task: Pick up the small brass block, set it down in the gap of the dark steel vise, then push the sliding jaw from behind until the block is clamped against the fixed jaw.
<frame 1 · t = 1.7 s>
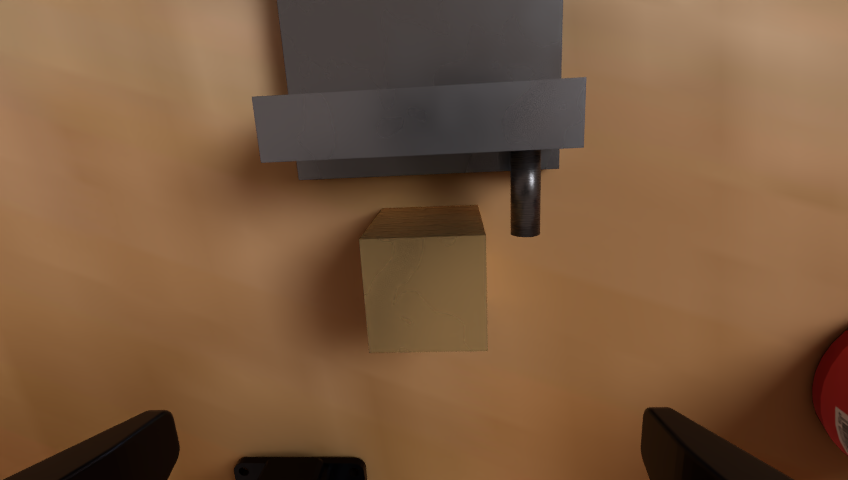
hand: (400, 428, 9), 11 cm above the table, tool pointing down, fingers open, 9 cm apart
jaw: (422, 166, 16), point 3 cm above the table, slide at 0.0 cm
block: (431, 252, 20), on the table
vise base: (419, 10, 17), on the table
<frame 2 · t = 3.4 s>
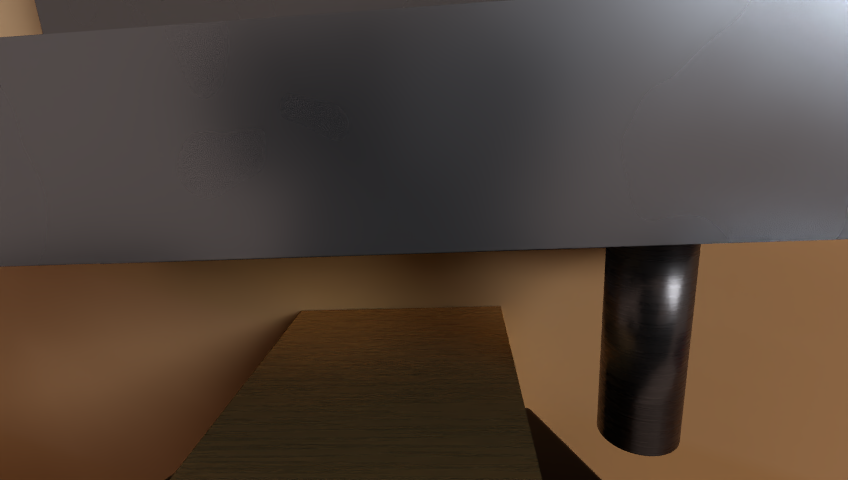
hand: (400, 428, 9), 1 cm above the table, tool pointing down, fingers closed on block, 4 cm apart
jaw: (361, 258, 6), point 3 cm above the table, slide at 0.0 cm
block: (405, 396, 10), on the table, touching gripper
when the fingers open (3 cm above the table, at t = 6.6 s): block drops 1 cm, resting on vise base.
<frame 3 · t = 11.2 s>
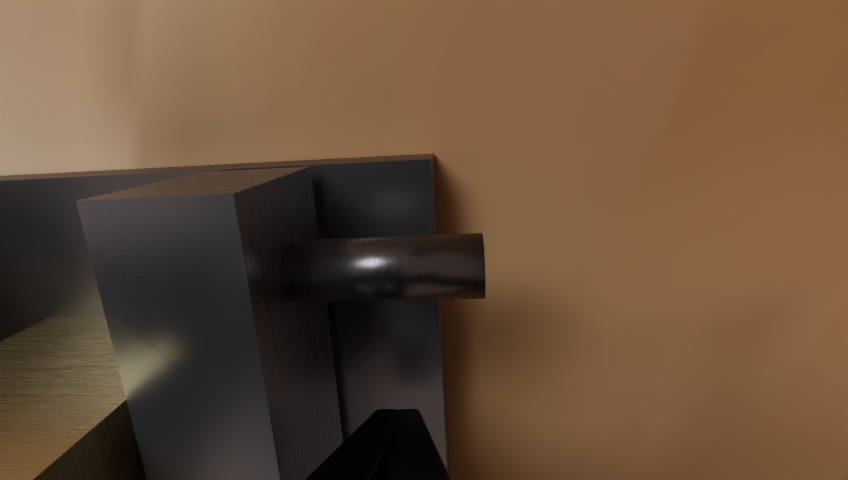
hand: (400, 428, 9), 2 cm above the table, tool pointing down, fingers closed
jaw: (345, 457, 8), point 3 cm above the table, slide at 1.2 cm, touching gripper
block: (153, 399, 10), point 1 cm above the table, touching vise base
vise base: (202, 370, 11), on the table
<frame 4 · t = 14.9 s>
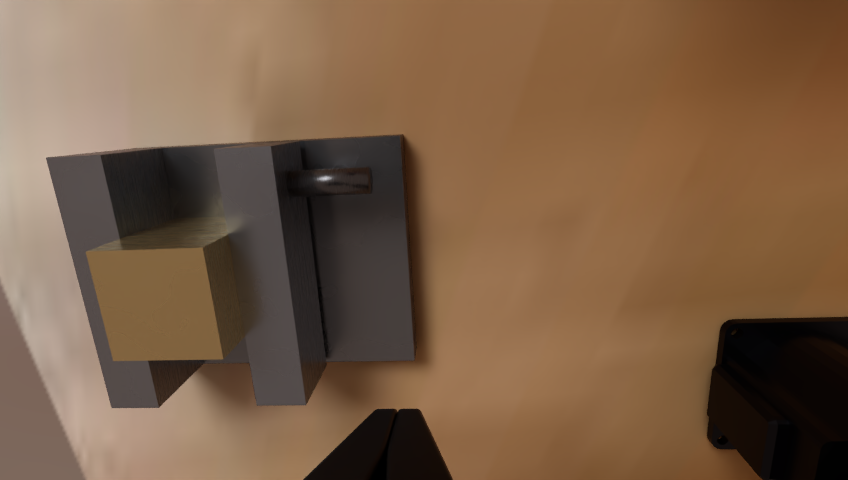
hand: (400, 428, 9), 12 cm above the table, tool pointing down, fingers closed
jaw: (315, 271, 18), point 3 cm above the table, slide at 3.0 cm
block: (227, 261, 20), point 1 cm above the table, touching vise base
vise base: (281, 251, 21), on the table
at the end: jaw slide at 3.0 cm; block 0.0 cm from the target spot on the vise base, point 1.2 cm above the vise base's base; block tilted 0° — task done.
